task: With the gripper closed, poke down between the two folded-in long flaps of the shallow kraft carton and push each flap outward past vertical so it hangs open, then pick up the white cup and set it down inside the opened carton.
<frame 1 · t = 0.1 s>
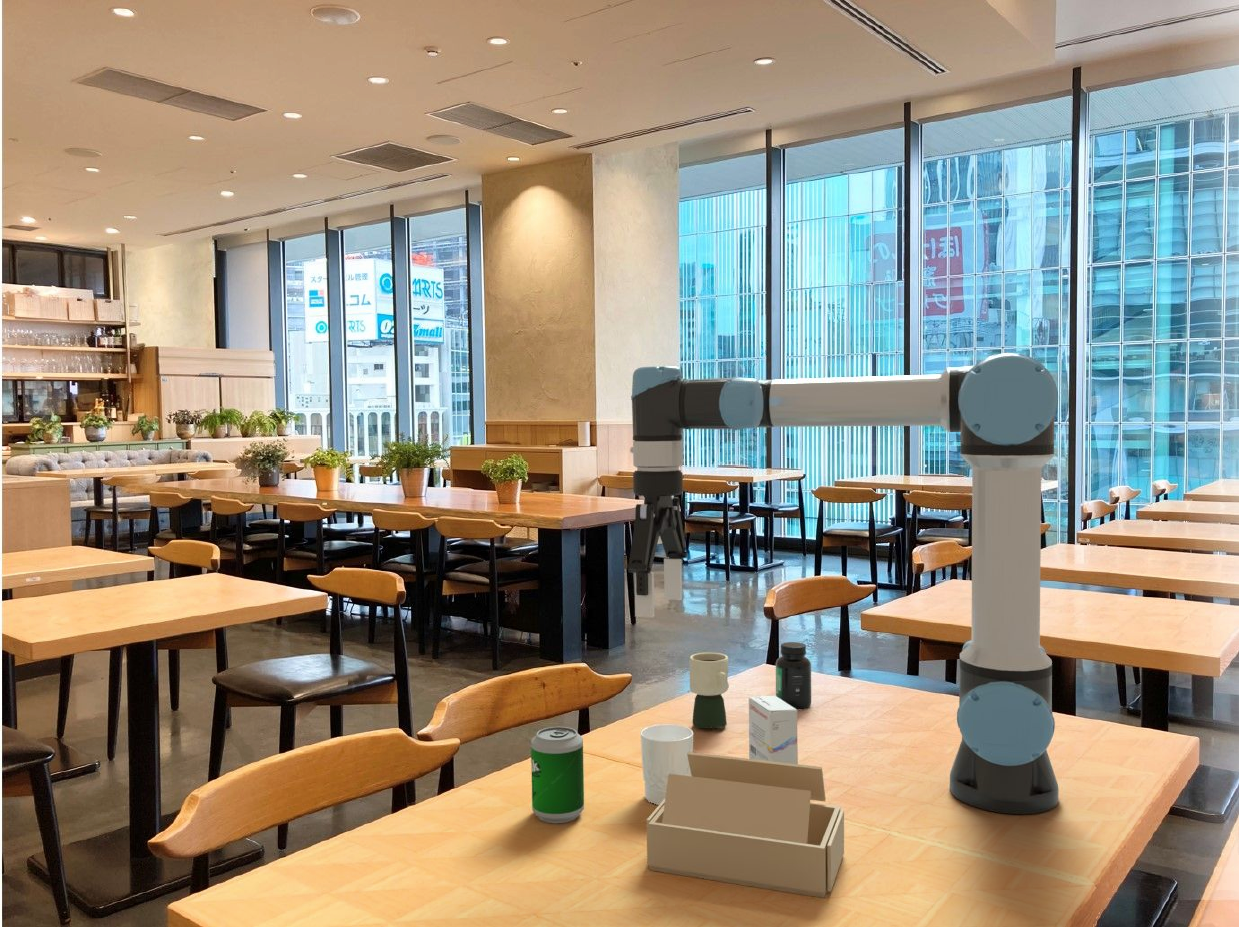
hand: (659, 608, 150), 28 cm above the table, tool pointing down, fingers open, 13 cm apart
flap far: (755, 776, 131), point 9 cm above the table, hinge at 28.0°
supplement bottle: (793, 706, 193), on the table
character mug: (709, 728, 181), on the table
ink box: (773, 776, 156), on the table
white cup: (667, 799, 148), on the table
flap near: (735, 807, 121), point 9 cm above the table, hinge at 28.0°
soda can: (558, 816, 142), on the table
carton: (746, 860, 127), on the table
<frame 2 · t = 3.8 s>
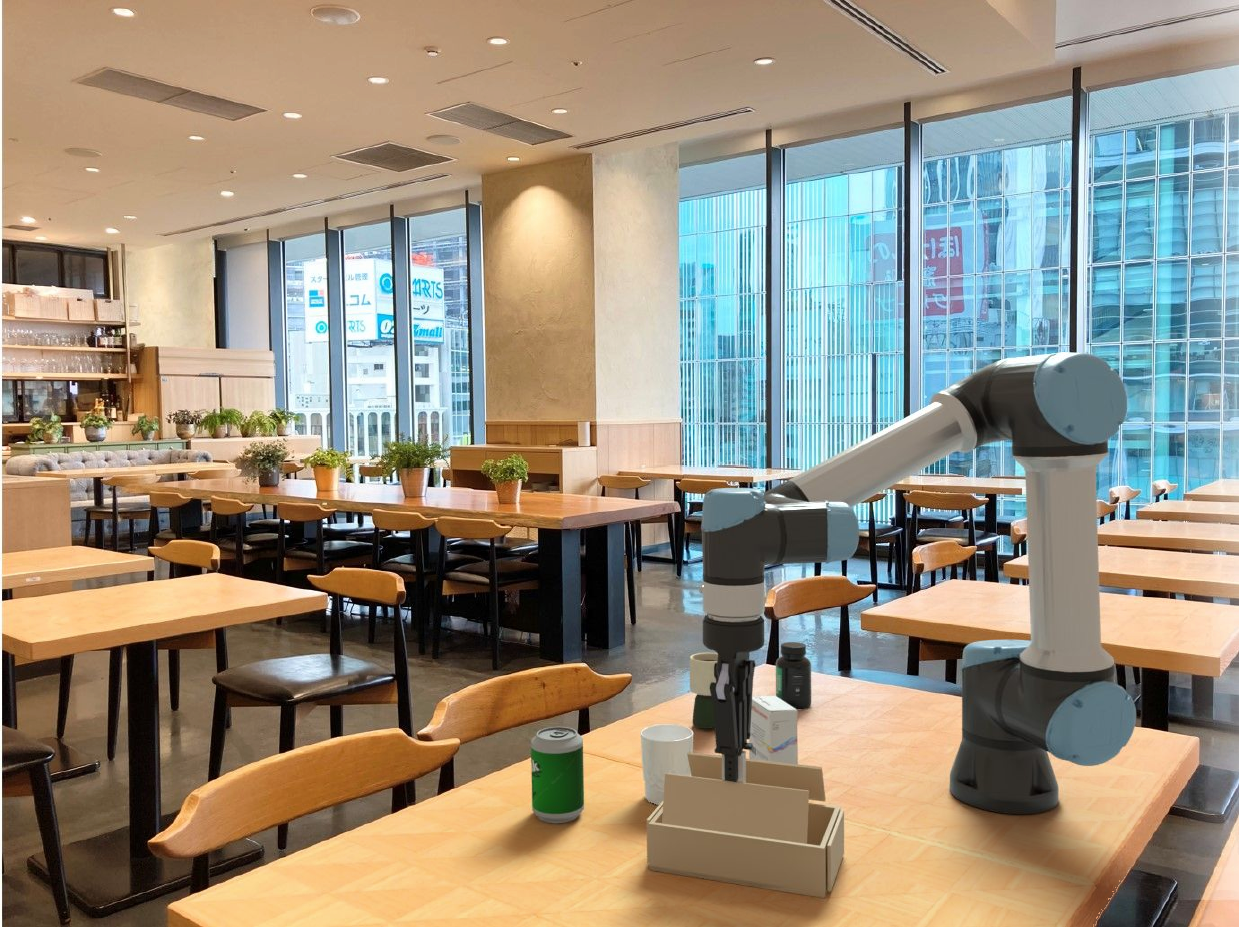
hand: (733, 803, 122), 9 cm above the table, tool pointing down, fingers closed
flap near: (733, 807, 121), point 9 cm above the table, hinge at 14.1°, touching gripper
everything else where it was.
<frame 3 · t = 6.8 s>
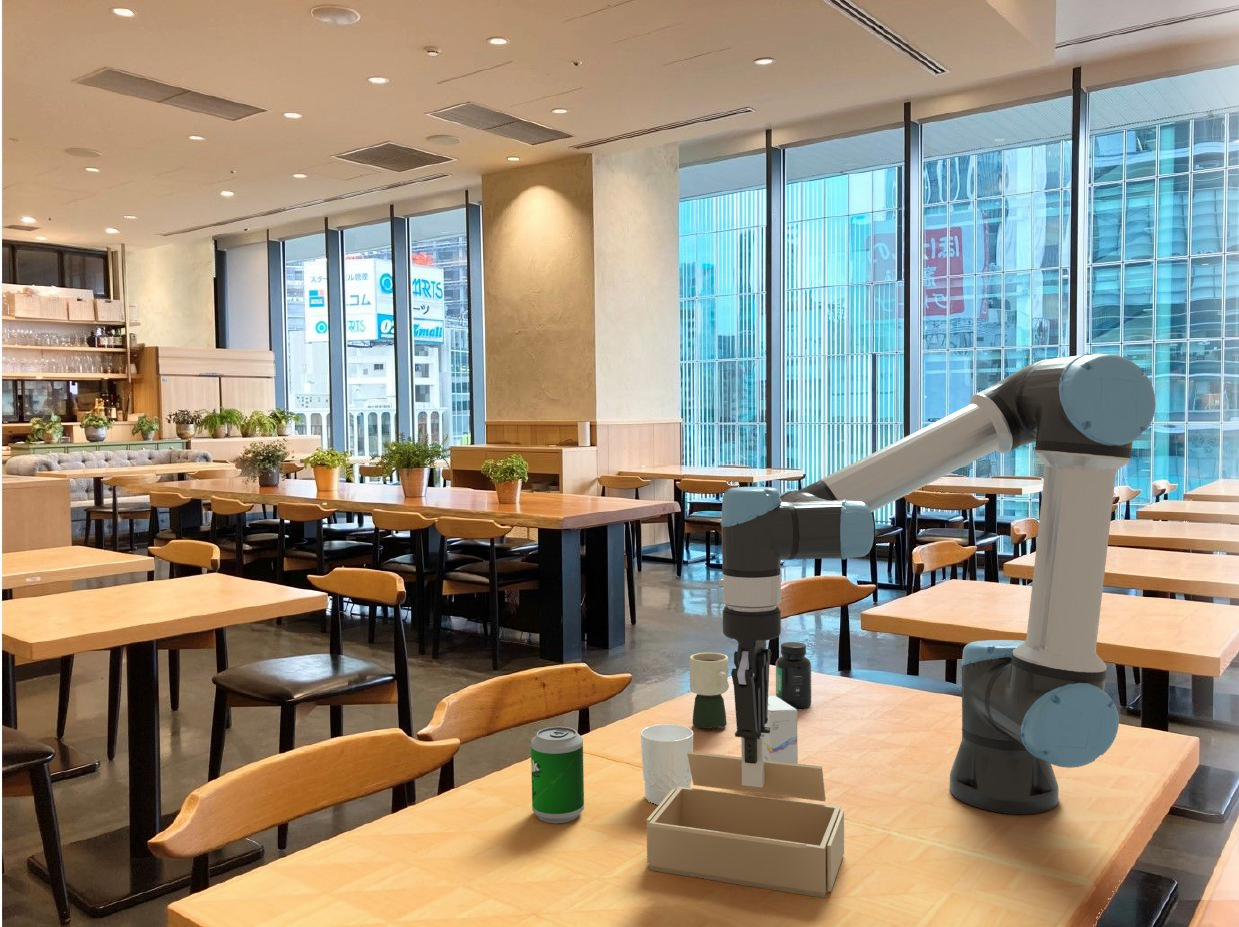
hand: (753, 784, 129), 9 cm above the table, tool pointing down, fingers closed
flap far: (755, 776, 131), point 9 cm above the table, hinge at 27.1°, touching gripper
flap near: (726, 835, 117), point 8 cm above the table, hinge at -66.4°
everything else where it was.
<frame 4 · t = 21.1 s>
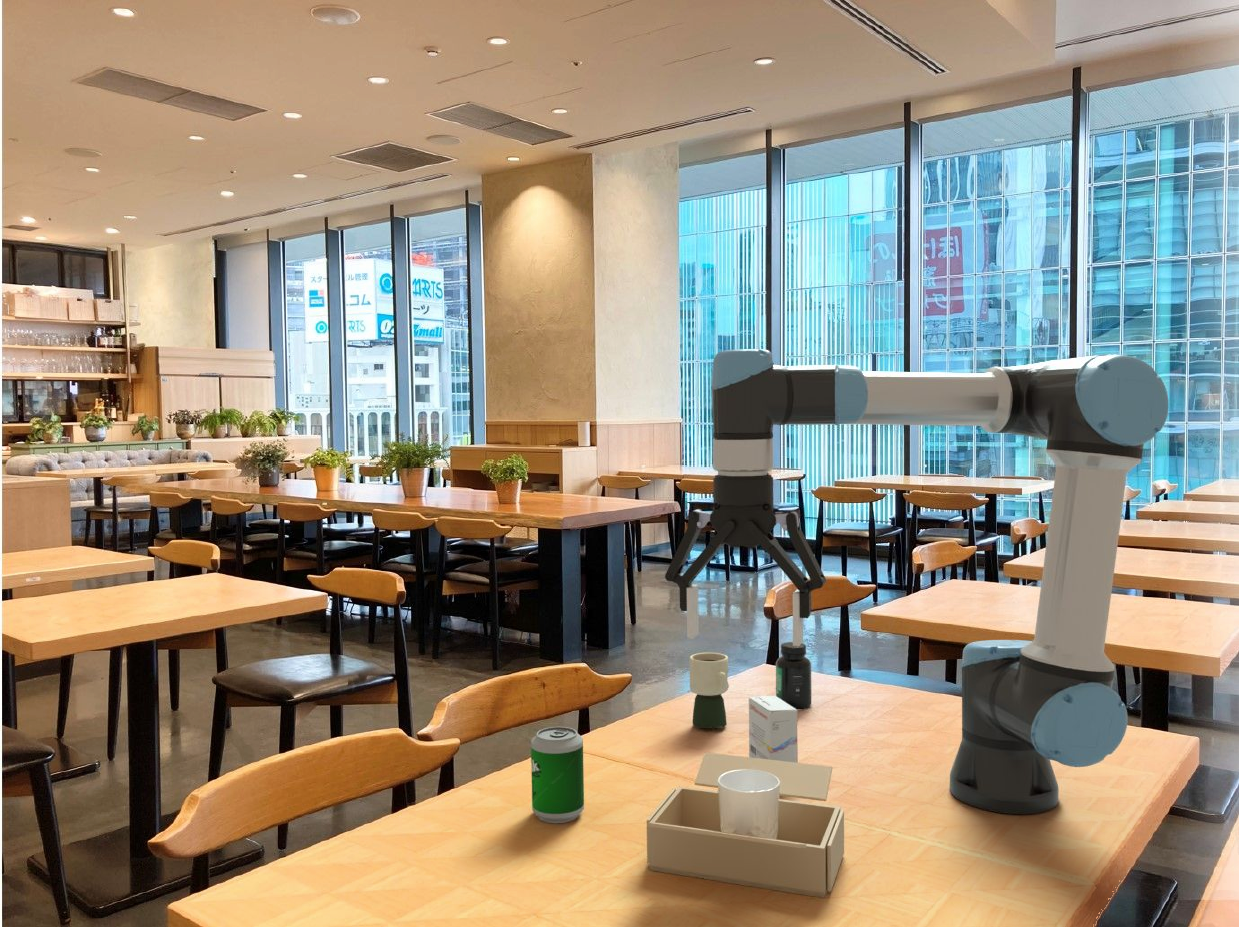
hand: (744, 640, 125), 29 cm above the table, tool pointing down, fingers open, 13 cm apart
flap far: (763, 775, 136), point 8 cm above the table, hinge at -65.8°
white cup: (749, 858, 127), resting on carton
everything else where it was.
at the end: flap near at -66° (first picture: +28°); flap far at -66° (first picture: +28°); white cup inside the target area on the carton (0.4 cm from its centre), point 0.4 cm above the carton's base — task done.
